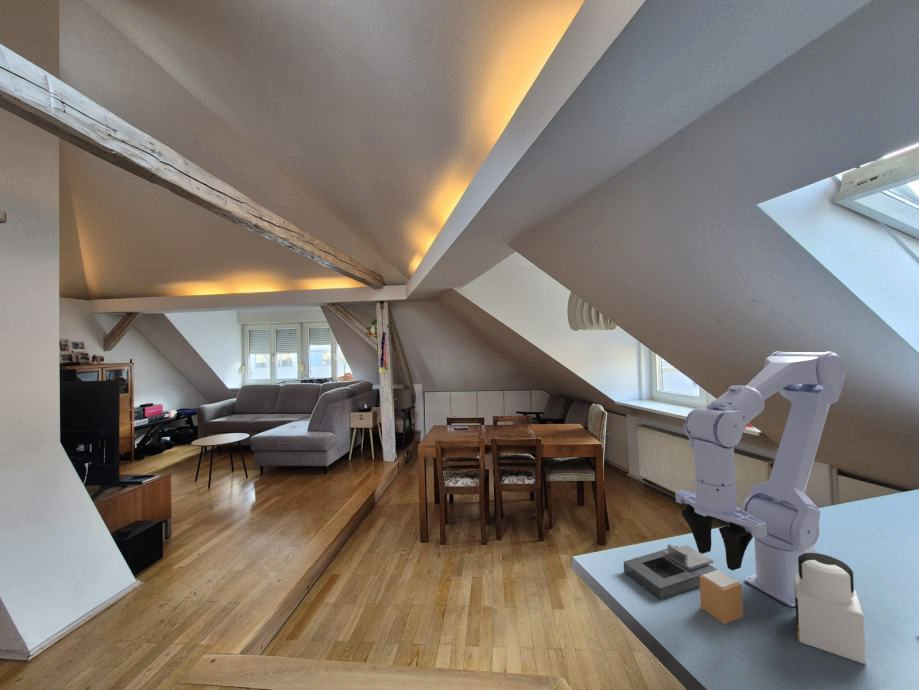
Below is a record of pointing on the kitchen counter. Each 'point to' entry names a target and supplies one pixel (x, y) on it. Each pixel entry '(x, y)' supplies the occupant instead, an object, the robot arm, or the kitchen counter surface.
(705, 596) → the brown and white block
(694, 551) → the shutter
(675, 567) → the socket plate
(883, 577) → the kitchen counter surface
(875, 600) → the kitchen counter surface
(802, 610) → the medicine bottle
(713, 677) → the kitchen counter surface
